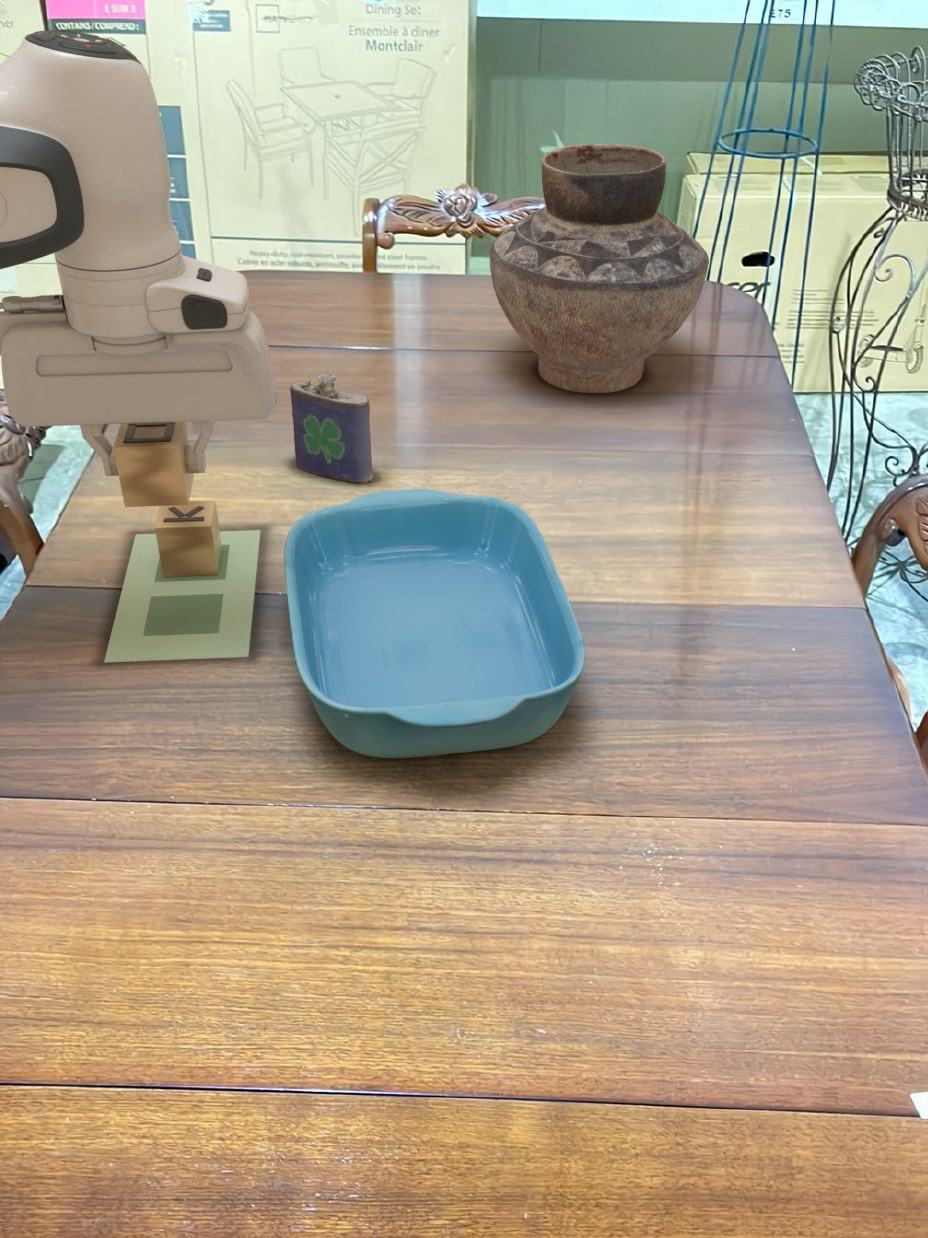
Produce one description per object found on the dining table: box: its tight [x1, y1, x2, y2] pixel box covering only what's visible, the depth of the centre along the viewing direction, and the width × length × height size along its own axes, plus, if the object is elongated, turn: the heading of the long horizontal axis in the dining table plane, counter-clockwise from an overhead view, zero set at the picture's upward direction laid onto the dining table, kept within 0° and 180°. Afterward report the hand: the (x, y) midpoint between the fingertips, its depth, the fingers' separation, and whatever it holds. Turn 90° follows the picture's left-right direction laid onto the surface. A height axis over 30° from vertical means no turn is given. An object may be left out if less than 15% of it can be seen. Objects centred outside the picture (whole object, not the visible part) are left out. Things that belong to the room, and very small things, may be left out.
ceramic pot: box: [488, 143, 710, 394], centre depth 144 cm, size 25×25×24 cm
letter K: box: [154, 499, 222, 577], centre depth 115 cm, size 5×5×5 cm
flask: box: [289, 373, 374, 485], centre depth 128 cm, size 9×3×11 cm, turn 61°
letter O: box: [113, 422, 195, 508], centre depth 100 cm, size 5×5×5 cm
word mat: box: [103, 529, 262, 664], centre depth 113 cm, size 12×22×1 cm, turn 4°
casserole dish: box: [283, 488, 586, 759], centre depth 103 cm, size 37×22×7 cm, turn 9°
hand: (157, 471), depth 100 cm, fingers closed on letter O, 5 cm apart
